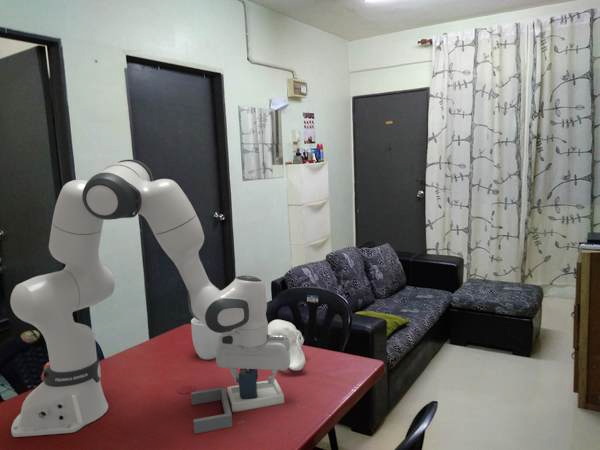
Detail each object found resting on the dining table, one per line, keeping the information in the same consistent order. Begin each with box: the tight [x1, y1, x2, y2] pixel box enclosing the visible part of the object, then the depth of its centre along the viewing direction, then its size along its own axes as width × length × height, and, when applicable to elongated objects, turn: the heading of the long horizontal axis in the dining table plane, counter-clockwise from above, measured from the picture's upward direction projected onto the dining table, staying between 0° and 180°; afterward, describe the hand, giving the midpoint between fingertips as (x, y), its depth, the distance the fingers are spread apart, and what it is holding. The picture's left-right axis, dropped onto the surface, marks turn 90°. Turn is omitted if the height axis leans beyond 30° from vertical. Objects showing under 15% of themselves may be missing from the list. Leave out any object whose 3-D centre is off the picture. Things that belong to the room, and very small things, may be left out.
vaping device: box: [238, 369, 259, 399], centre depth 125 cm, size 3×5×12 cm, turn 89°
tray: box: [226, 378, 285, 413], centre depth 126 cm, size 14×10×2 cm
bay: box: [190, 386, 233, 435], centre depth 119 cm, size 9×15×3 cm, turn 16°
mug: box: [190, 317, 222, 361], centre depth 157 cm, size 15×11×13 cm
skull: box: [268, 319, 306, 371], centre depth 147 cm, size 13×14×20 cm
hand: (254, 382), depth 126 cm, fingers open, 8 cm apart
